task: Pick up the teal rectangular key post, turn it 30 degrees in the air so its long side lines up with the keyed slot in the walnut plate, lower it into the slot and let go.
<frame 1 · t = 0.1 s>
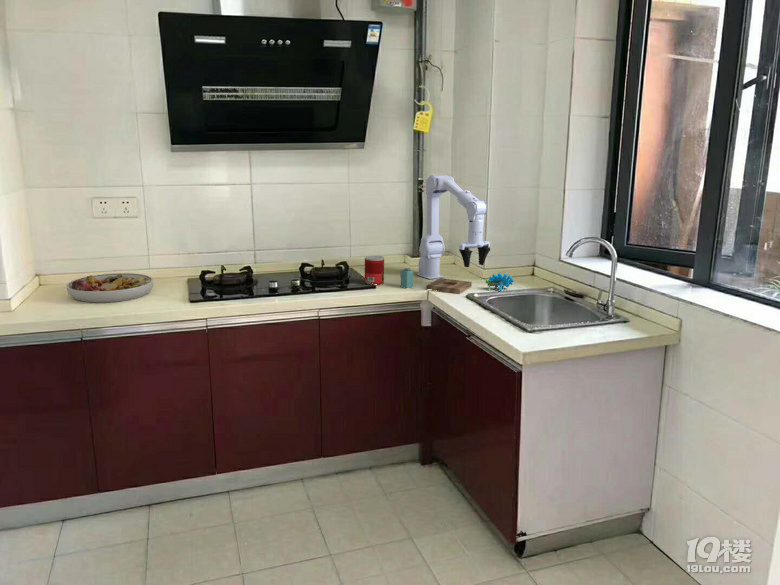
hand: (474, 265, 254), 10 cm above the countertop, tool pointing down, fingers open, 7 cm apart
canned food: (374, 283, 266), on the countertop
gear: (498, 290, 259), on the countertop
slot plate: (449, 288, 260), on the countertop
bowl: (112, 295, 243), on the countertop
key post: (406, 287, 260), on the countertop
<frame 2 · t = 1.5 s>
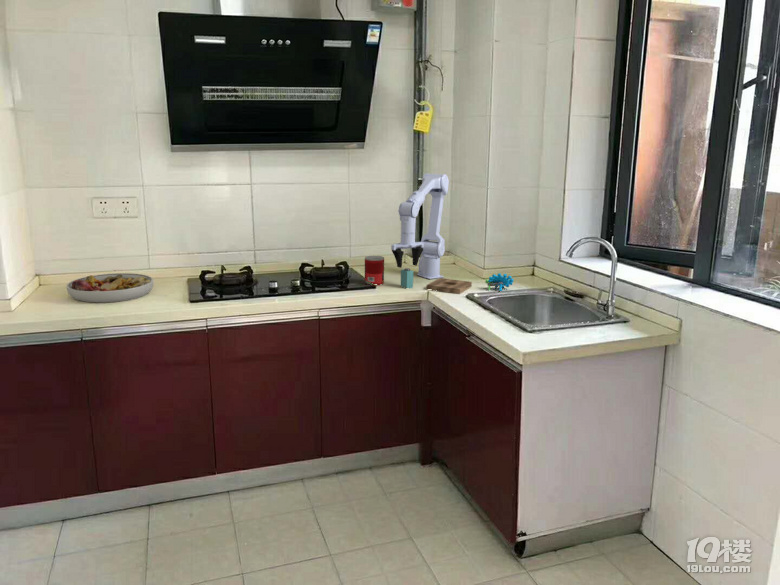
hand: (407, 266, 258), 9 cm above the countertop, tool pointing down, fingers open, 7 cm apart
nothing on the countertop moved.
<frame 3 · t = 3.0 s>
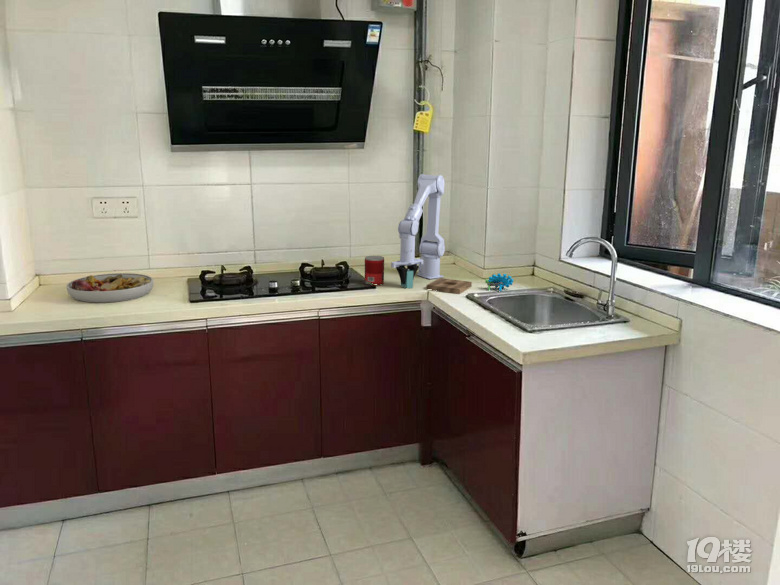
hand: (406, 283, 260), 2 cm above the countertop, tool pointing down, fingers closed on key post, 3 cm apart
key post: (406, 287, 260), on the countertop, touching gripper
everything else where it was.
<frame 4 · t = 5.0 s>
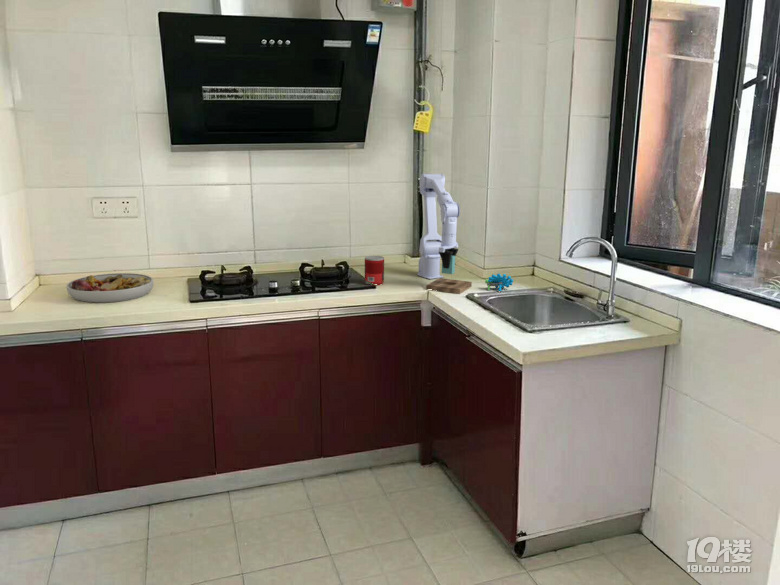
hand: (447, 267, 258), 9 cm above the countertop, tool pointing down, fingers closed on key post, 3 cm apart
key post: (448, 273, 258), point 6 cm above the countertop, touching gripper
everything else where it was.
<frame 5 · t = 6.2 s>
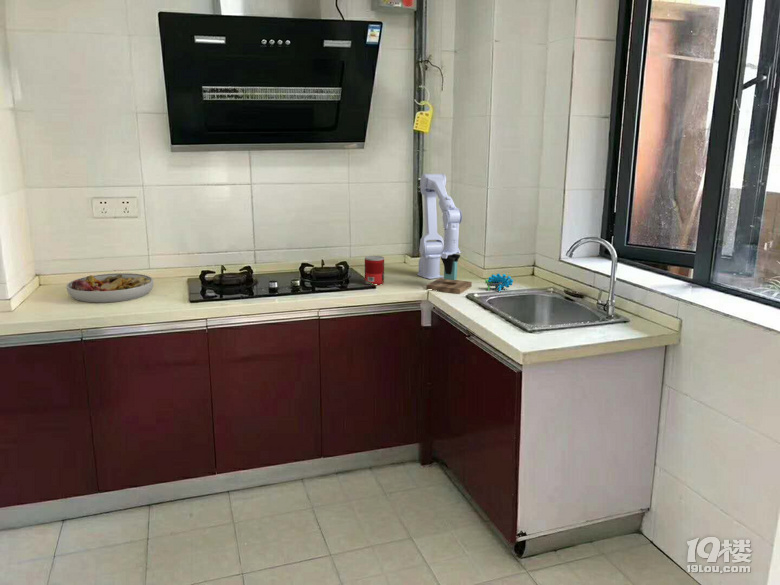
hand: (449, 273, 258), 6 cm above the countertop, tool pointing down, fingers closed on key post, 3 cm apart
key post: (450, 278, 259), point 4 cm above the countertop, touching gripper
everything else where it was.
when the fingers open (3 cm above the countertop, at t = 7.3 s): key post stays where it is, resting in slot plate.
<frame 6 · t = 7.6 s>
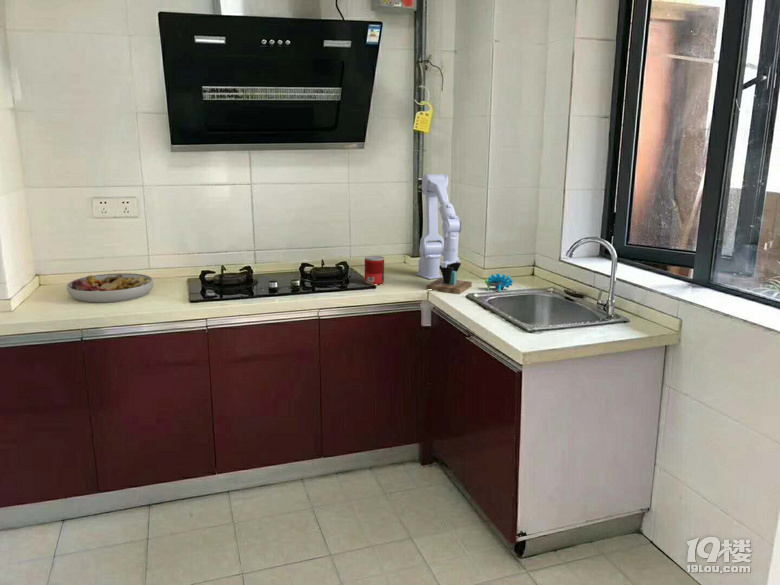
hand: (449, 281, 259), 3 cm above the countertop, tool pointing down, fingers open, 6 cm apart
key post: (449, 288, 260), resting in slot plate
everything else where it was.
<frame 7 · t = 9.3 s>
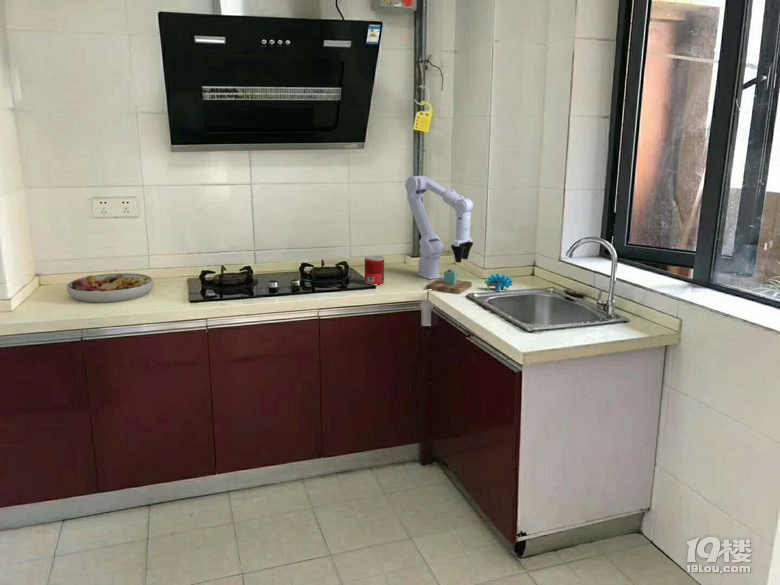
hand: (461, 260, 267), 9 cm above the countertop, tool pointing down, fingers open, 7 cm apart
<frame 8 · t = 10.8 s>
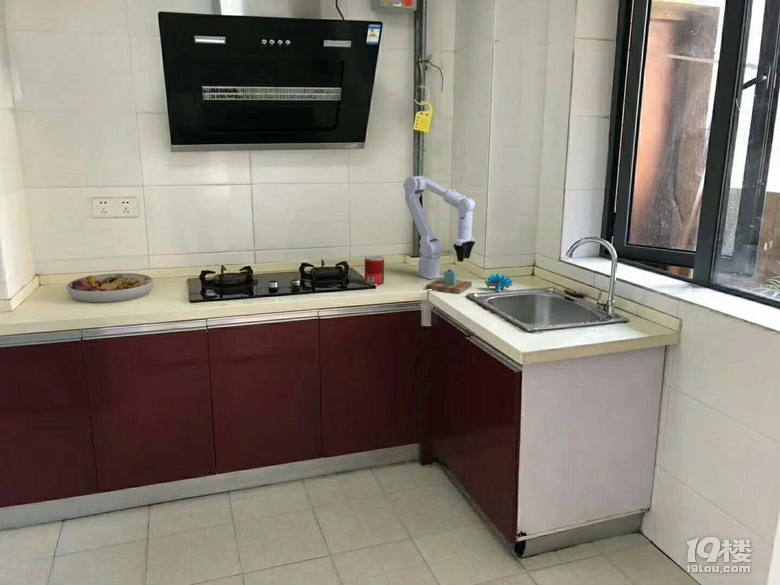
hand: (463, 259, 269), 9 cm above the countertop, tool pointing down, fingers open, 7 cm apart
at the end: key post 0.3 cm off-centre on the slot plate, point 0.0 cm above the slot plate's base; key post tilted 0°; the gripper is holding nothing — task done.
